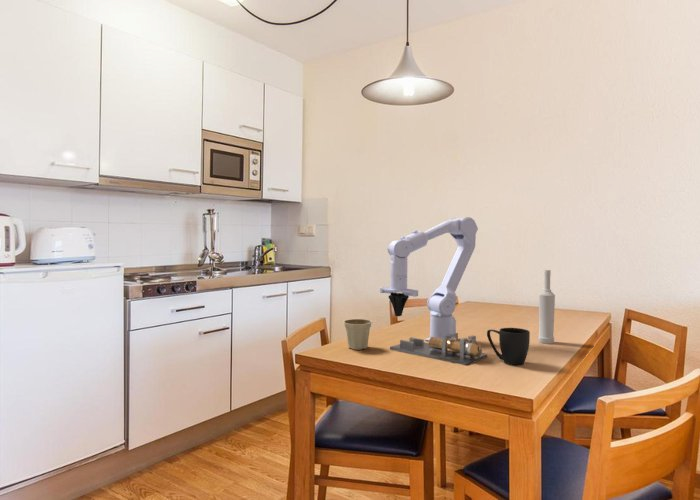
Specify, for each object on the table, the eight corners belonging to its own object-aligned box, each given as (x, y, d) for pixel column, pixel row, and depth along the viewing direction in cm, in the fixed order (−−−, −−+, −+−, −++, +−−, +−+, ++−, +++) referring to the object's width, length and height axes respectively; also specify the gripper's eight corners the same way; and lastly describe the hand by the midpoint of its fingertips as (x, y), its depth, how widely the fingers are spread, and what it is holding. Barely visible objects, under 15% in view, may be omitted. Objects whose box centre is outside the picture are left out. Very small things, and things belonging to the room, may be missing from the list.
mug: (492, 355, 142) (493, 324, 142) (533, 362, 135) (533, 330, 135) (481, 361, 136) (482, 328, 136) (523, 368, 128) (524, 334, 128)
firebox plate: (413, 342, 159) (413, 335, 159) (487, 356, 141) (487, 348, 141) (389, 349, 150) (390, 341, 150) (466, 365, 132) (466, 356, 132)
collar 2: (471, 356, 142) (472, 335, 141) (475, 357, 141) (475, 335, 141) (459, 361, 136) (460, 339, 136) (463, 361, 135) (463, 339, 135)
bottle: (555, 344, 158) (557, 270, 158) (539, 343, 159) (540, 270, 159) (552, 341, 163) (553, 269, 163) (536, 340, 164) (537, 269, 164)
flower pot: (347, 352, 146) (347, 324, 146) (340, 345, 155) (340, 319, 155) (375, 350, 148) (376, 323, 148) (367, 343, 158) (367, 318, 157)
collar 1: (454, 352, 146) (454, 332, 145) (457, 353, 145) (457, 333, 145) (441, 357, 140) (442, 336, 140) (445, 358, 139) (445, 336, 139)
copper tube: (428, 349, 145) (428, 337, 145) (434, 347, 148) (435, 335, 148) (475, 358, 135) (476, 345, 135) (481, 356, 137) (481, 343, 137)
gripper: (374, 275, 159) (374, 314, 160) (409, 277, 150) (409, 320, 150) (387, 274, 164) (386, 312, 165) (421, 276, 155) (421, 317, 155)
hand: (398, 315), depth 158 cm, fingers closed
